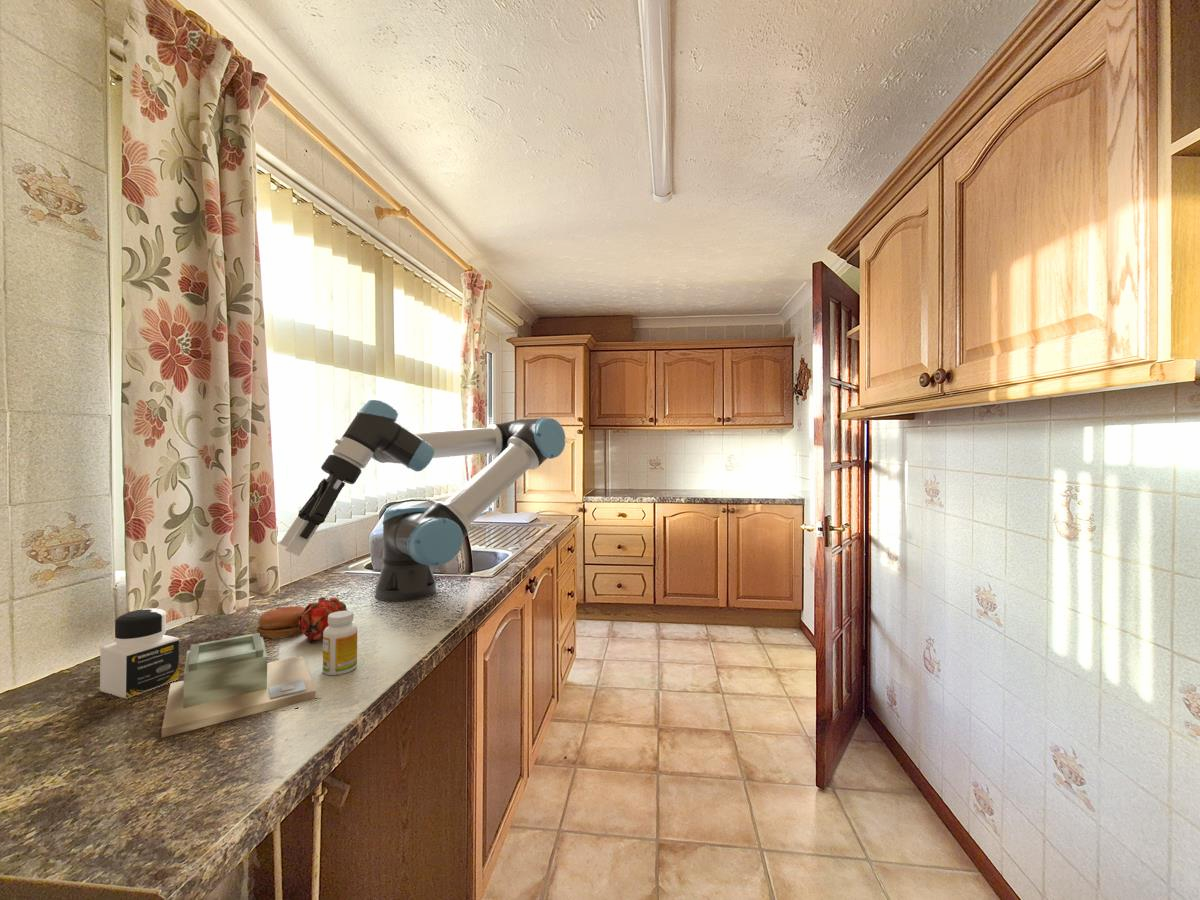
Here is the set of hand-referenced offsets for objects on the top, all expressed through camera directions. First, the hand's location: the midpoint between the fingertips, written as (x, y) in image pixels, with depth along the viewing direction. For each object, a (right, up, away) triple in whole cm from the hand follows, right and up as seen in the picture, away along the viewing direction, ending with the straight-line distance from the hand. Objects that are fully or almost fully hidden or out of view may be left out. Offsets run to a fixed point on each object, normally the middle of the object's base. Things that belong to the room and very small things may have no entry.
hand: (288, 549), depth 103 cm
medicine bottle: (-10, -18, -22) cm, 30 cm away
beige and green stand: (+8, -18, -25) cm, 32 cm away
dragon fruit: (+8, -18, -1) cm, 20 cm away
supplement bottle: (+19, -18, -15) cm, 30 cm away
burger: (-3, -18, +2) cm, 18 cm away
